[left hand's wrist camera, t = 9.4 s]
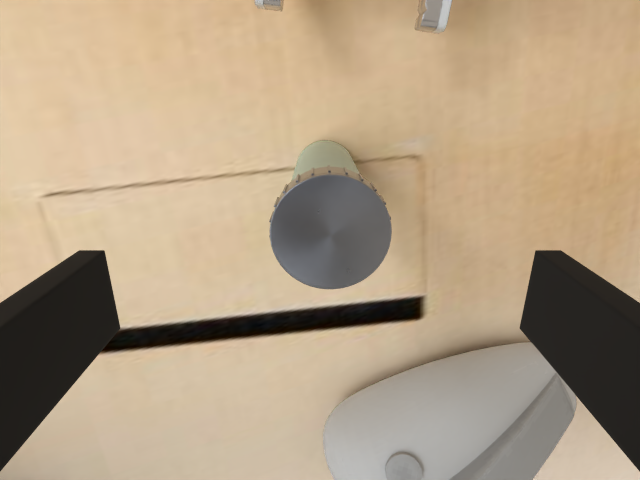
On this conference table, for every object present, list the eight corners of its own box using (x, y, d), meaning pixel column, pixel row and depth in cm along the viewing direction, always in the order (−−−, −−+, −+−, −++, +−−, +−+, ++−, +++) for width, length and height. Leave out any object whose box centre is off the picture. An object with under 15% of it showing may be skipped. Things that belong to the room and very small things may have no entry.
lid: (249, 226, 20) (242, 239, 18) (325, 139, 18) (326, 144, 16) (332, 292, 21) (334, 312, 19) (409, 217, 20) (419, 230, 18)
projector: (497, 503, 46) (574, 678, 32) (302, 473, 44) (295, 644, 30) (581, 344, 38) (727, 485, 25) (351, 300, 37) (370, 424, 23)
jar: (284, 172, 33) (257, 235, 18) (322, 127, 32) (326, 157, 17) (327, 209, 34) (333, 296, 19) (365, 167, 33) (403, 227, 18)
